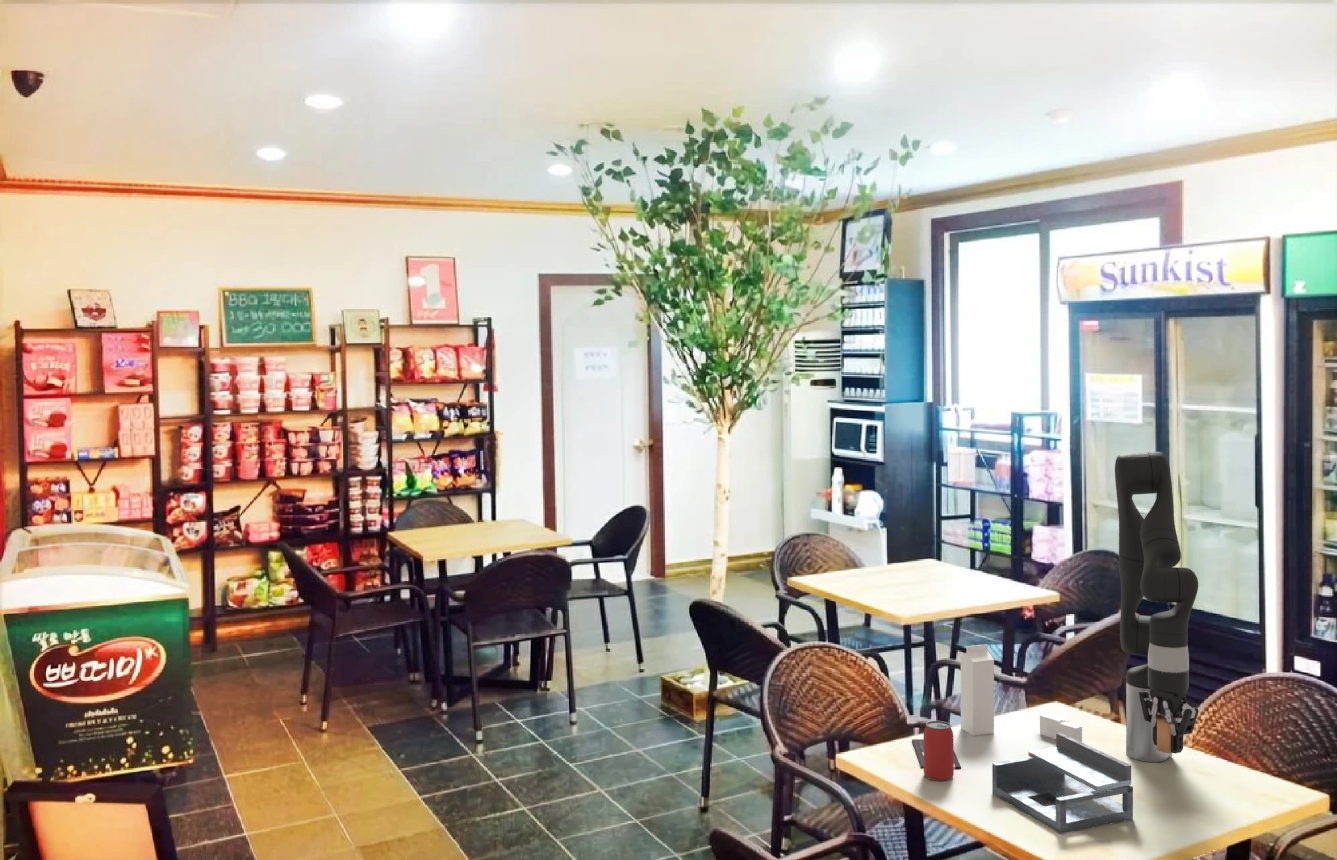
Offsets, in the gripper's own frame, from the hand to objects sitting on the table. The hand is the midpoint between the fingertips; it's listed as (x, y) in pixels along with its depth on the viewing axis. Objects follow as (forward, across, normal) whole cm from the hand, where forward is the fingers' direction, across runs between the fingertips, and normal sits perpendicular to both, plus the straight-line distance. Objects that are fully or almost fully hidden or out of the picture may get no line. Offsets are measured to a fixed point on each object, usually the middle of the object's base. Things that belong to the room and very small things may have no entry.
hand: (1167, 748), depth 225 cm
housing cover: (+8, +14, +10) cm, 19 cm away
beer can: (+15, +38, +29) cm, 50 cm away
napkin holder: (+16, +46, -11) cm, 50 cm away
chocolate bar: (+16, +50, +22) cm, 57 cm away
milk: (+15, +60, +3) cm, 62 cm away
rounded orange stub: (0, 0, 0) cm, 0 cm away
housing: (+15, +14, +15) cm, 25 cm away
